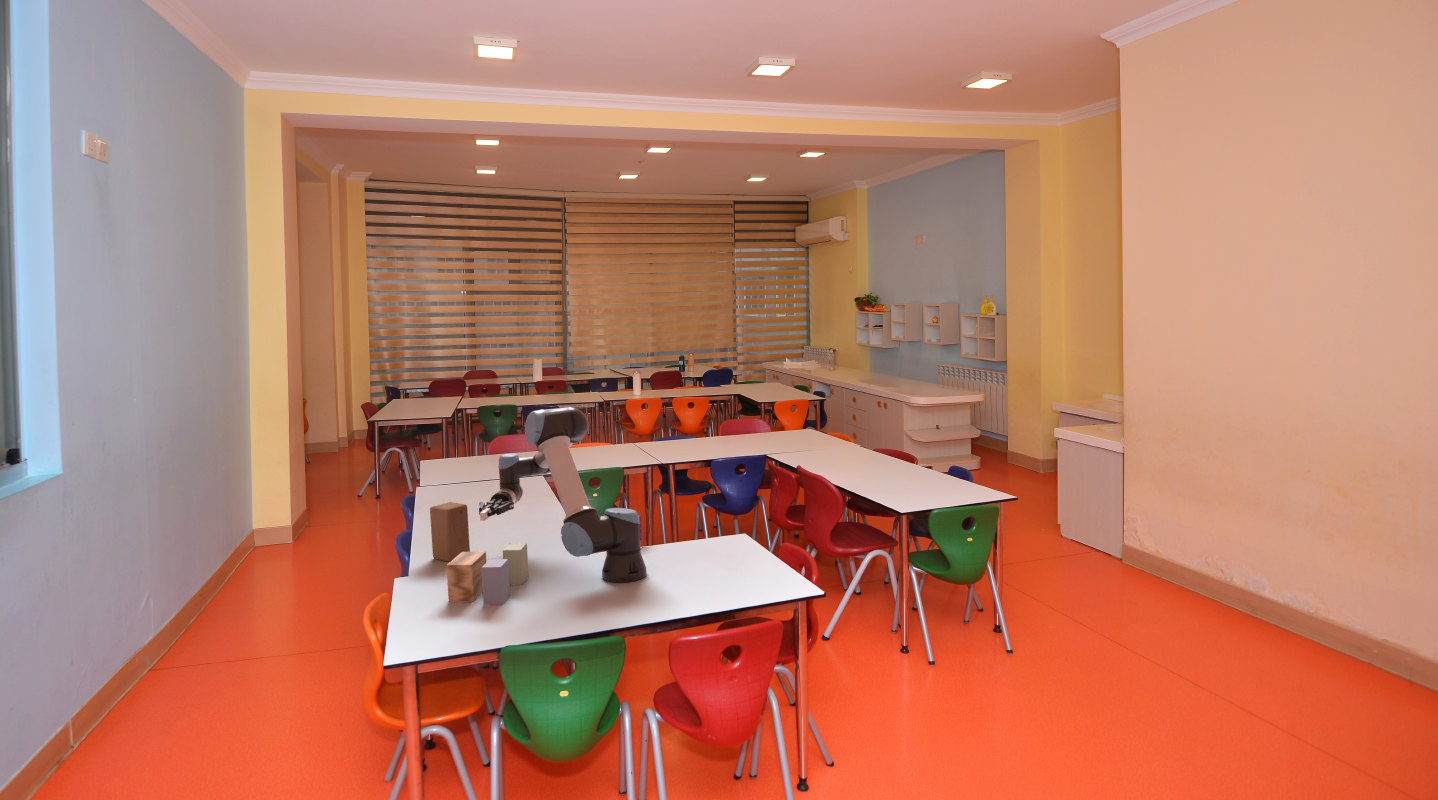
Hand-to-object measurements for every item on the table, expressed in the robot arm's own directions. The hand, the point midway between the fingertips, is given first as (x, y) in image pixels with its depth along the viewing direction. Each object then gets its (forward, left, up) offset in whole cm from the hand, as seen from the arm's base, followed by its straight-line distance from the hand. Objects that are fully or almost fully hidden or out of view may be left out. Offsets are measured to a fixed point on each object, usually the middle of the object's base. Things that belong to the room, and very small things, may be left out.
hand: (482, 516), depth 269 cm
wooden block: (+24, -19, -21) cm, 37 cm away
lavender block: (-15, +21, -21) cm, 33 cm away
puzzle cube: (-36, -45, -21) cm, 61 cm away
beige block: (-13, +3, -21) cm, 25 cm away
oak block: (-3, +17, -21) cm, 27 cm away
